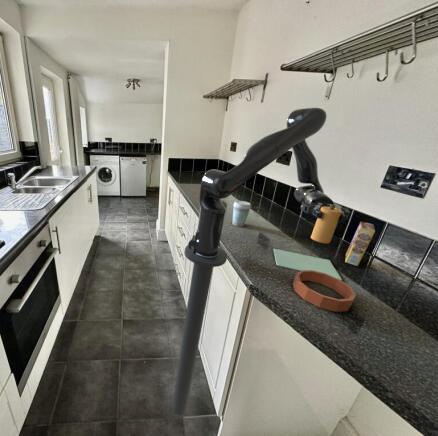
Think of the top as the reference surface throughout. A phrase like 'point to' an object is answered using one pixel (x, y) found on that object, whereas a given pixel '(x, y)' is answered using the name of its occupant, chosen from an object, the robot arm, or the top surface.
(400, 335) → the top surface
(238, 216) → the coffee cup
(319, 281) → the ring
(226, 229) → the top surface
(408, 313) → the top surface
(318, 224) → the orange cylinder
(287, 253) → the towel
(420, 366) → the top surface
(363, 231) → the candy box
